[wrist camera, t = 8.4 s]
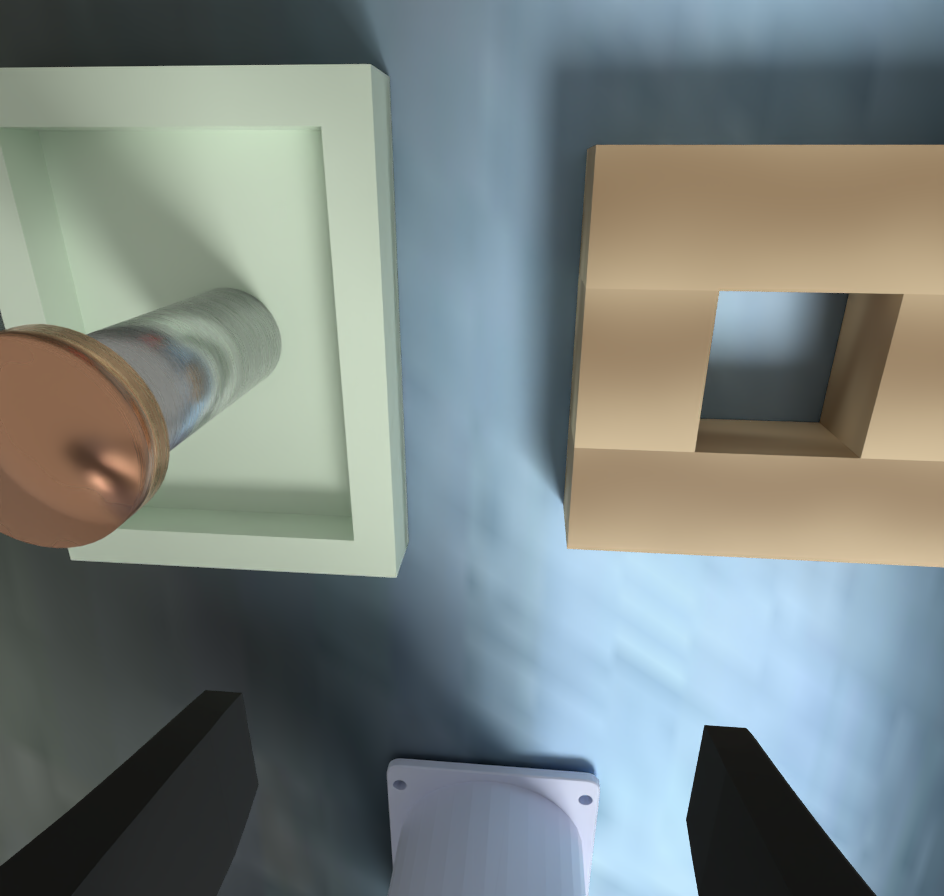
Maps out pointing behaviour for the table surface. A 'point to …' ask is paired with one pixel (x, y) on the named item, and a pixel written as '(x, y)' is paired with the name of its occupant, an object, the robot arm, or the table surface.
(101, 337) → the pin
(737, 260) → the socket block
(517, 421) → the table surface
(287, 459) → the tray
